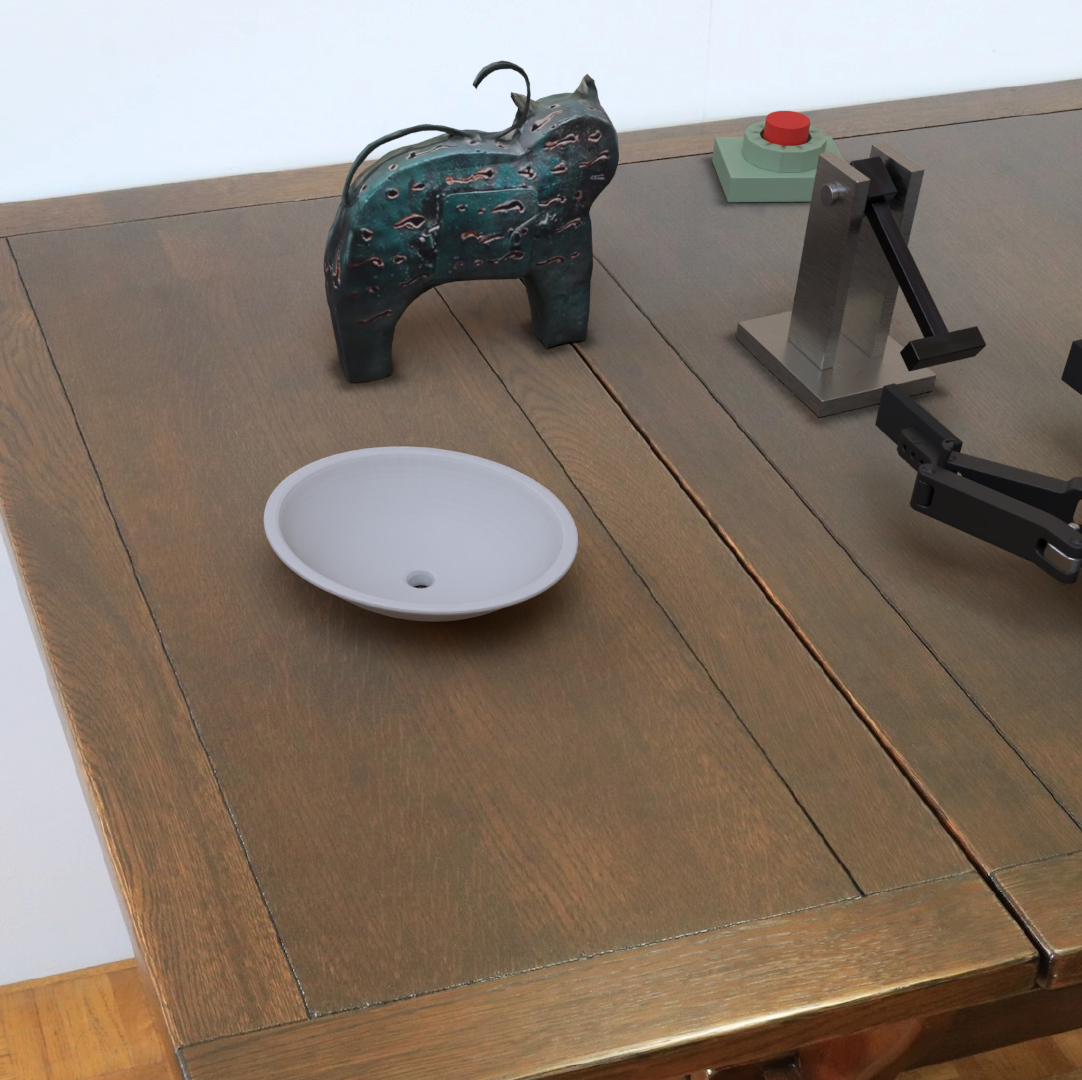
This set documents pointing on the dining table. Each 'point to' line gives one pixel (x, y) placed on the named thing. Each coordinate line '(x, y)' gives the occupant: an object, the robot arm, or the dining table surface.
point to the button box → (768, 166)
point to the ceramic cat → (471, 221)
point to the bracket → (843, 296)
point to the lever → (912, 280)
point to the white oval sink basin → (420, 532)
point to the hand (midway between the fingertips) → (979, 380)
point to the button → (786, 128)
